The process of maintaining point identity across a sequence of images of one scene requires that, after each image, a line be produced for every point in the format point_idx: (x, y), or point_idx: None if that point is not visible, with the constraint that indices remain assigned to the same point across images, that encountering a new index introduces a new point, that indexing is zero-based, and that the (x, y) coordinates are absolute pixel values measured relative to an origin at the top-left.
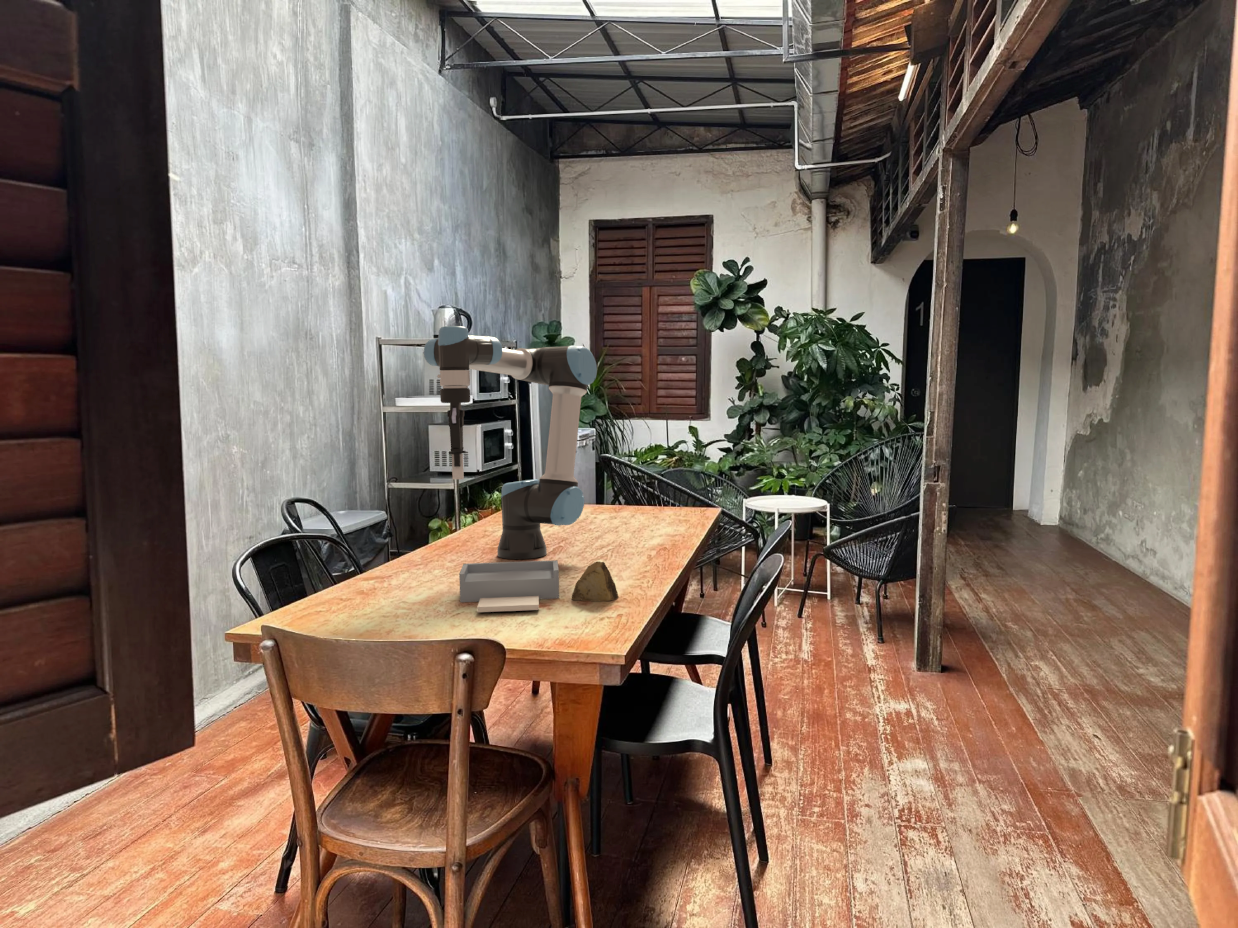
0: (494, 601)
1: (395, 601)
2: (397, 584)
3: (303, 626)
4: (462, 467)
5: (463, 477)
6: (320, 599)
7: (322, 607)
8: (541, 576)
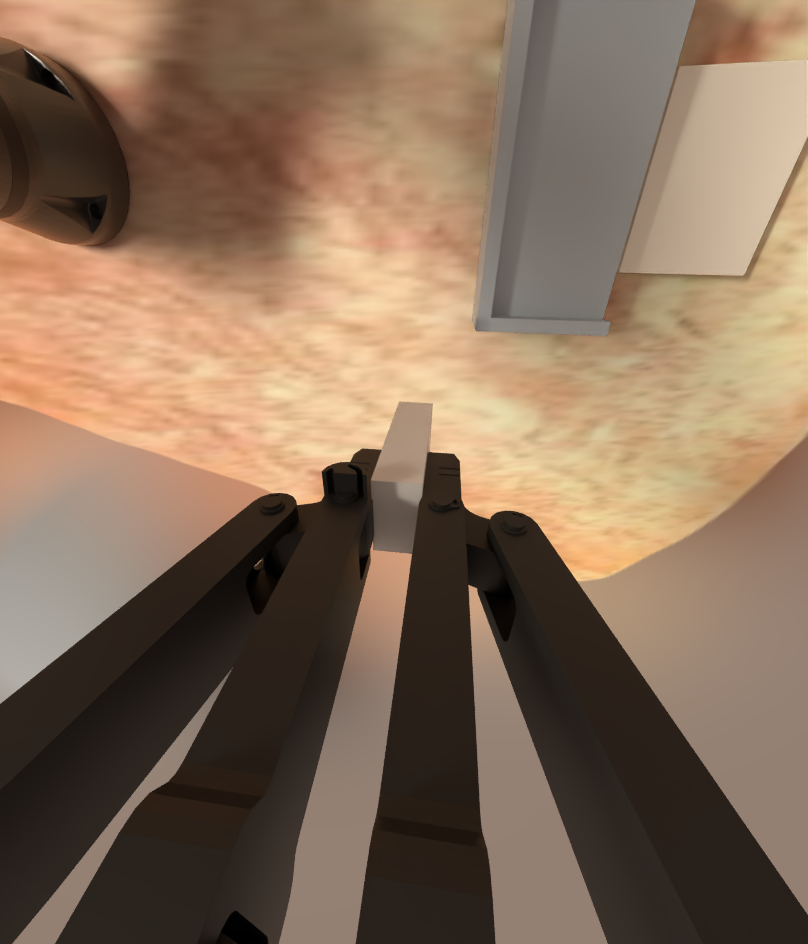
0: (690, 228)
1: (522, 450)
2: None
3: (628, 554)
4: (428, 434)
5: (410, 405)
6: None
7: None
8: (647, 25)
